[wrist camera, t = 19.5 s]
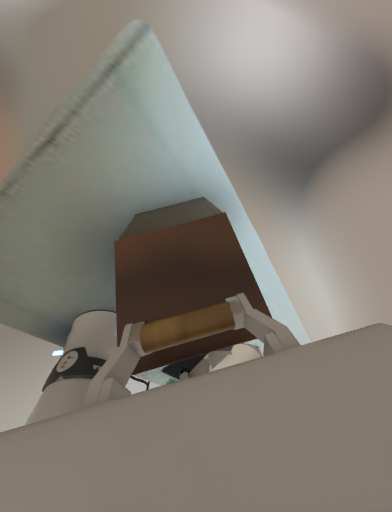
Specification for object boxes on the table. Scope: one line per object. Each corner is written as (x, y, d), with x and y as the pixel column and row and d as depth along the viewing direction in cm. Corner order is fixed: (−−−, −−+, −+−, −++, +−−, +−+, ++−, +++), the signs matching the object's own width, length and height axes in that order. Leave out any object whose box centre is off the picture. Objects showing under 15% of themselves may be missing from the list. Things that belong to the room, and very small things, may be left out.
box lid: (275, 332, 13) (308, 334, 9) (122, 376, 13) (75, 402, 8) (224, 216, 19) (229, 181, 15) (118, 244, 19) (88, 217, 14)
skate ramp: (222, 377, 71) (229, 406, 62) (179, 372, 62) (181, 405, 54) (258, 346, 62) (272, 375, 54) (214, 336, 54) (223, 368, 45)
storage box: (213, 251, 36) (232, 286, 26) (157, 266, 36) (153, 308, 25) (203, 197, 30) (223, 213, 19) (135, 214, 29) (117, 240, 19)
